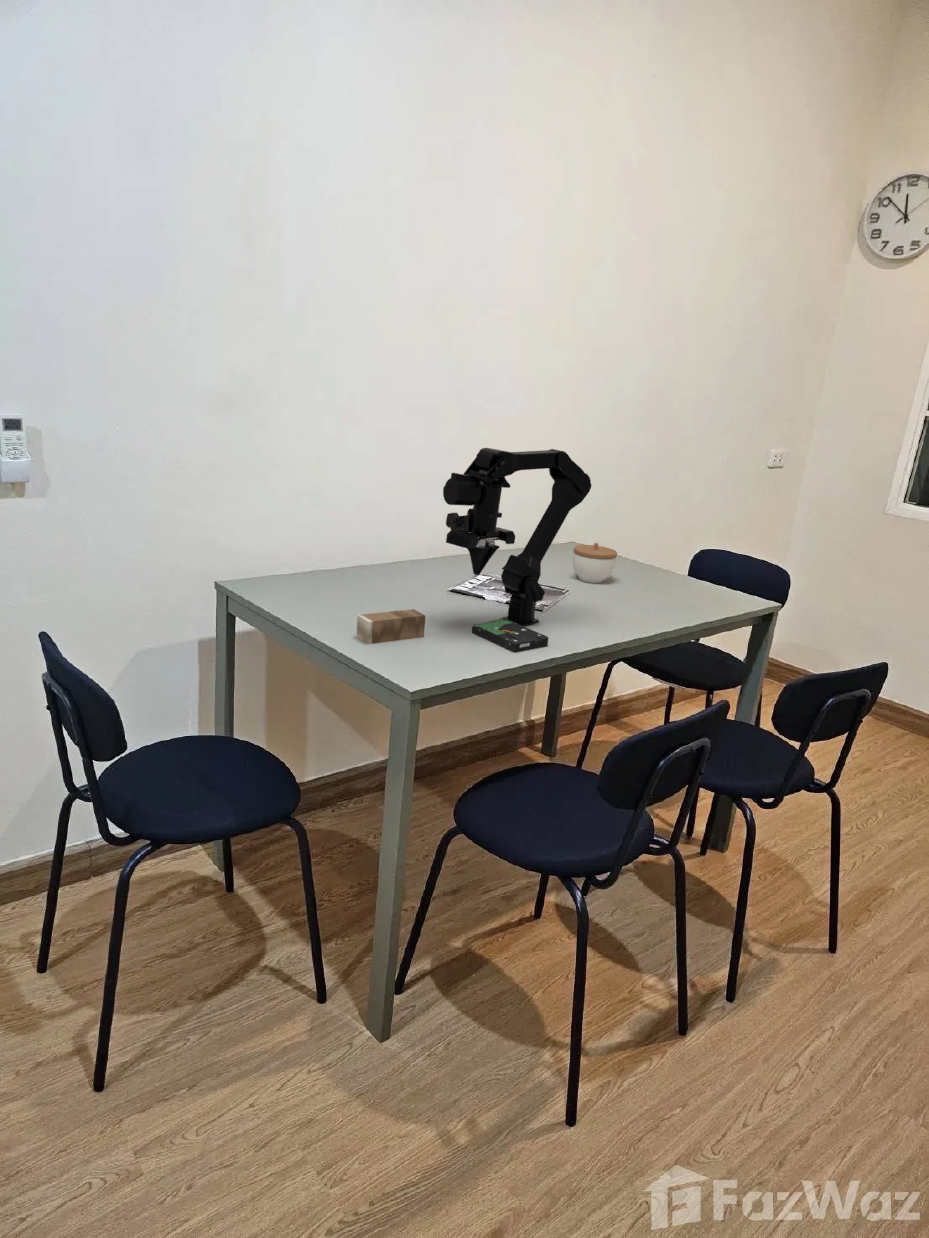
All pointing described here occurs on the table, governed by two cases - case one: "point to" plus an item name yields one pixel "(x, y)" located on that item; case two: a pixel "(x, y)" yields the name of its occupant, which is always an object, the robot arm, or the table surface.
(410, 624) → the walnut block
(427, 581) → the table surface
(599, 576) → the lidded bowl
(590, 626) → the table surface
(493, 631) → the disk drive
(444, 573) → the table surface
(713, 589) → the table surface
